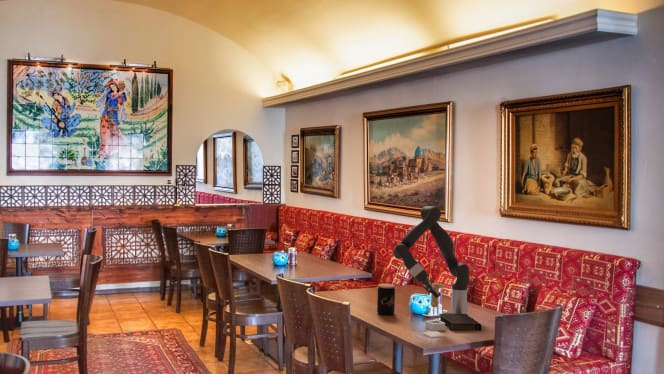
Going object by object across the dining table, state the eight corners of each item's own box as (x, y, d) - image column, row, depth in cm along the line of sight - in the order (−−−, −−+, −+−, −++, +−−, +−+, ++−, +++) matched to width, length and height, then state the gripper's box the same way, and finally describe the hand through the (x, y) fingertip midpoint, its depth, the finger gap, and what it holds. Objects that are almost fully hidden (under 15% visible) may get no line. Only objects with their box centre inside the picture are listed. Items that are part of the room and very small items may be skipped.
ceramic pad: (436, 332, 384) (436, 331, 384) (445, 336, 376) (445, 335, 376) (422, 333, 381) (422, 332, 381) (431, 337, 372) (431, 336, 372)
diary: (466, 321, 416) (467, 313, 416) (481, 332, 391) (482, 323, 391) (436, 321, 413) (437, 313, 413) (449, 331, 388) (450, 323, 388)
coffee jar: (380, 316, 421) (381, 286, 420) (374, 312, 431) (375, 283, 430) (396, 315, 423) (397, 286, 423) (390, 311, 434) (391, 283, 433)
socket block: (437, 326, 398) (437, 319, 397) (444, 330, 390) (445, 323, 390) (425, 327, 394) (425, 320, 394) (432, 331, 387) (432, 324, 387)
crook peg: (430, 306, 389) (431, 284, 389) (432, 305, 393) (433, 283, 392) (442, 308, 386) (443, 285, 386) (444, 307, 390) (444, 284, 389)
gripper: (419, 270, 386) (440, 294, 381) (427, 267, 399) (446, 290, 394) (410, 279, 388) (430, 303, 384) (418, 275, 401) (437, 298, 397)
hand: (438, 296), depth 389 cm, fingers closed on crook peg, 3 cm apart
